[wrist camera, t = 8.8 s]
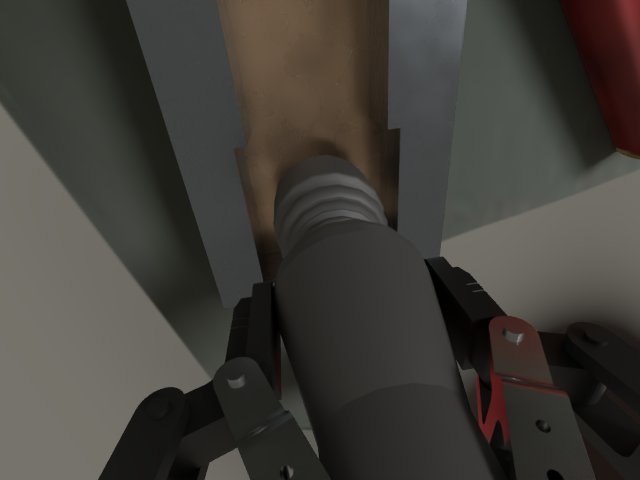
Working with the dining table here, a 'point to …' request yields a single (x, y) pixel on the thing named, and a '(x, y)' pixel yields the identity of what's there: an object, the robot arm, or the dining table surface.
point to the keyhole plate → (303, 111)
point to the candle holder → (368, 336)
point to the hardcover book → (611, 63)
